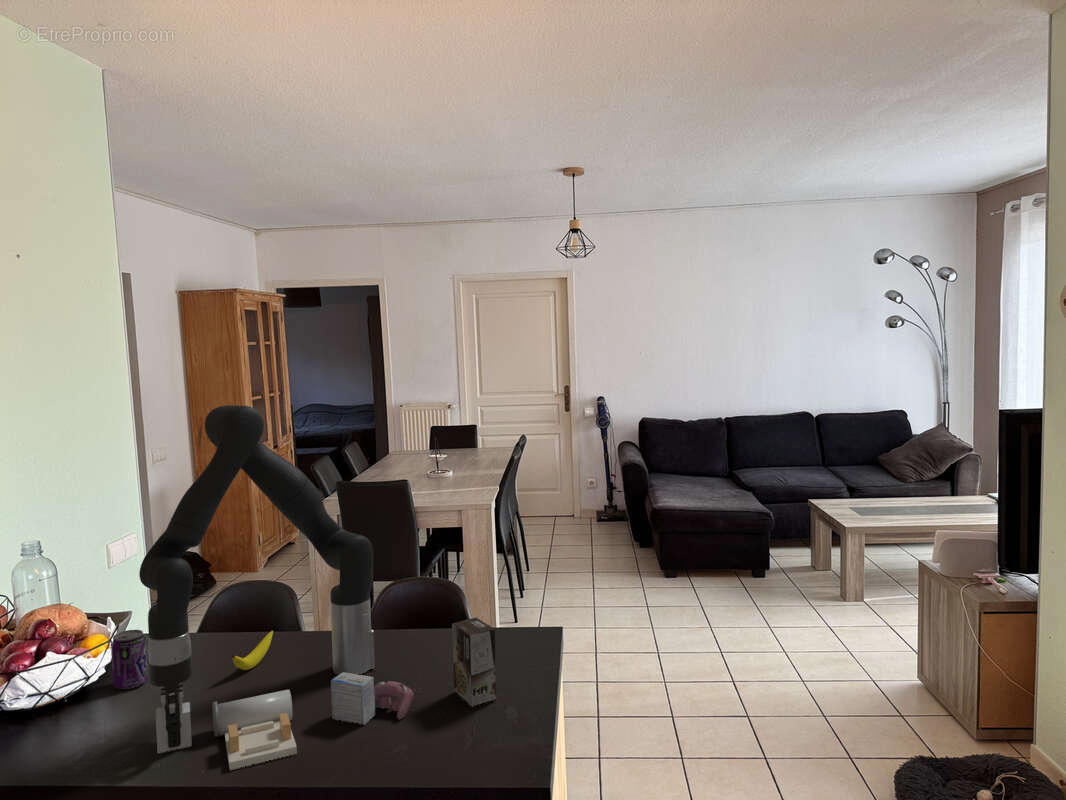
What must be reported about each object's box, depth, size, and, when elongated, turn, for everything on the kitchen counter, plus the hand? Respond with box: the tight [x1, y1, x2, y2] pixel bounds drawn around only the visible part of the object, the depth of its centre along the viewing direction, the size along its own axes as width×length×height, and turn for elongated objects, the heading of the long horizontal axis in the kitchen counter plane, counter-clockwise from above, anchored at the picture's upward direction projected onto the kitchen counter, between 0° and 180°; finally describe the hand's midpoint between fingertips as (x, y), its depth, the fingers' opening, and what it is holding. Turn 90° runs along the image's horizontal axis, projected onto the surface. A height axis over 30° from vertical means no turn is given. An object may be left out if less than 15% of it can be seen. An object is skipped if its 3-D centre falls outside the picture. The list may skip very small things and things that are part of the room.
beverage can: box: [110, 629, 149, 690], centre depth 174 cm, size 7×7×12 cm
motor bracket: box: [212, 689, 298, 771], centre depth 148 cm, size 15×18×7 cm
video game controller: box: [374, 680, 414, 721], centre depth 160 cm, size 10×5×7 cm, turn 65°
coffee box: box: [451, 617, 497, 707], centre depth 165 cm, size 9×6×16 cm
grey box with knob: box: [155, 701, 193, 755], centre depth 147 cm, size 6×4×9 cm
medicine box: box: [330, 672, 376, 726], centre depth 157 cm, size 8×4×9 cm, turn 70°
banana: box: [231, 630, 274, 671], centre depth 184 cm, size 3×19×6 cm, turn 172°
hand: (174, 739), depth 147 cm, fingers closed on grey box with knob, 4 cm apart
